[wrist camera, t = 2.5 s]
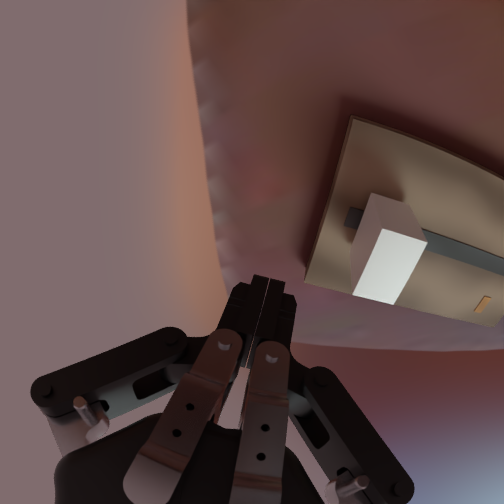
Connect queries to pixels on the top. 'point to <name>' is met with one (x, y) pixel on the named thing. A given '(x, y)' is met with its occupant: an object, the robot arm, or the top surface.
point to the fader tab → (385, 249)
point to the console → (419, 221)
